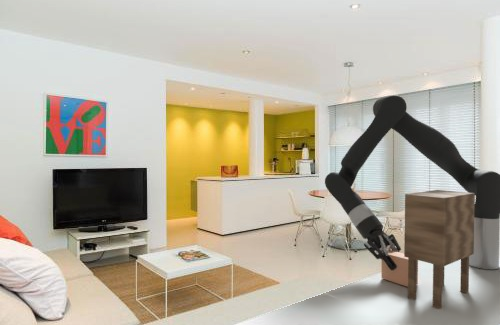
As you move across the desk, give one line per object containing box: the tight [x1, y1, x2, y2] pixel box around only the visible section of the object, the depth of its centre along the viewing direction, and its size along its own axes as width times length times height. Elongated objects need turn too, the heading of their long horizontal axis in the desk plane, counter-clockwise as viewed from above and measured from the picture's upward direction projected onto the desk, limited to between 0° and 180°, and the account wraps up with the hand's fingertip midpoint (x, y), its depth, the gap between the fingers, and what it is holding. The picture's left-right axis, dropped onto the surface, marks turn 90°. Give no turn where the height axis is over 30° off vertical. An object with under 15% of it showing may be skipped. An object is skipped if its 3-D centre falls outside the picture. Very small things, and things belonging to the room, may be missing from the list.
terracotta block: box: [380, 249, 419, 288], centre depth 101 cm, size 4×9×8 cm, turn 36°
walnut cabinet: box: [403, 189, 476, 309], centre depth 92 cm, size 18×11×28 cm, turn 126°
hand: (399, 267), depth 102 cm, fingers closed on terracotta block, 4 cm apart
